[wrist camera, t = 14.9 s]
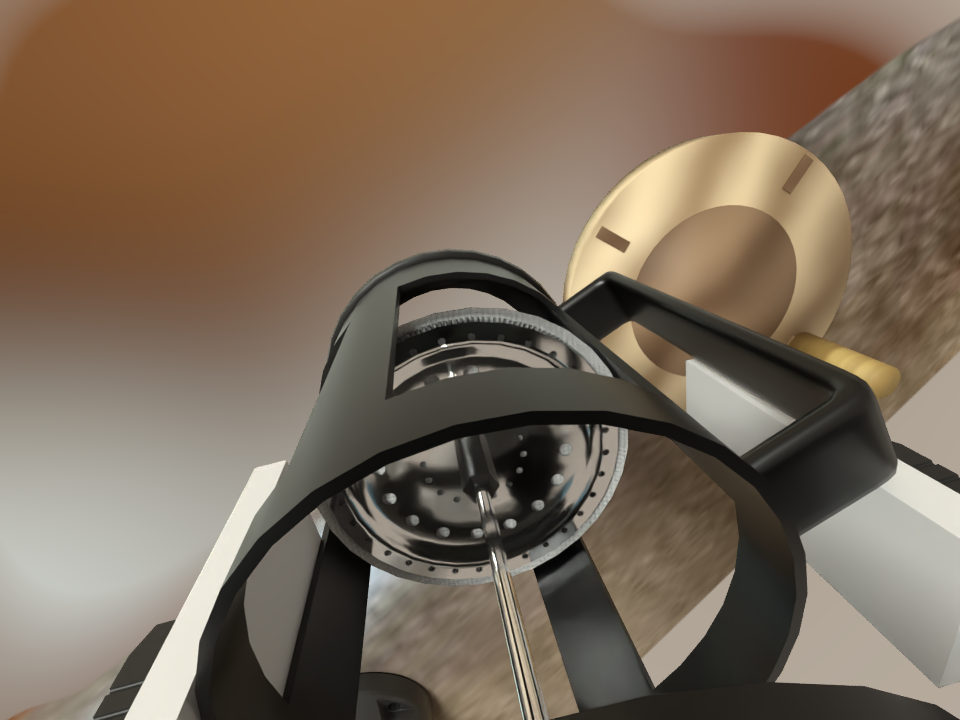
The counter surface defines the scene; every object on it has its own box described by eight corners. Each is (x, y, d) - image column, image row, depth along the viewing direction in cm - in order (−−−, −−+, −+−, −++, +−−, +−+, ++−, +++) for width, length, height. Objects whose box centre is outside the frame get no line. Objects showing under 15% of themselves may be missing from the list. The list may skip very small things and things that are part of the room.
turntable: (511, 356, 35) (542, 413, 27) (672, 67, 29) (776, 26, 21) (715, 445, 42) (790, 512, 34) (883, 224, 36) (1026, 241, 27)
